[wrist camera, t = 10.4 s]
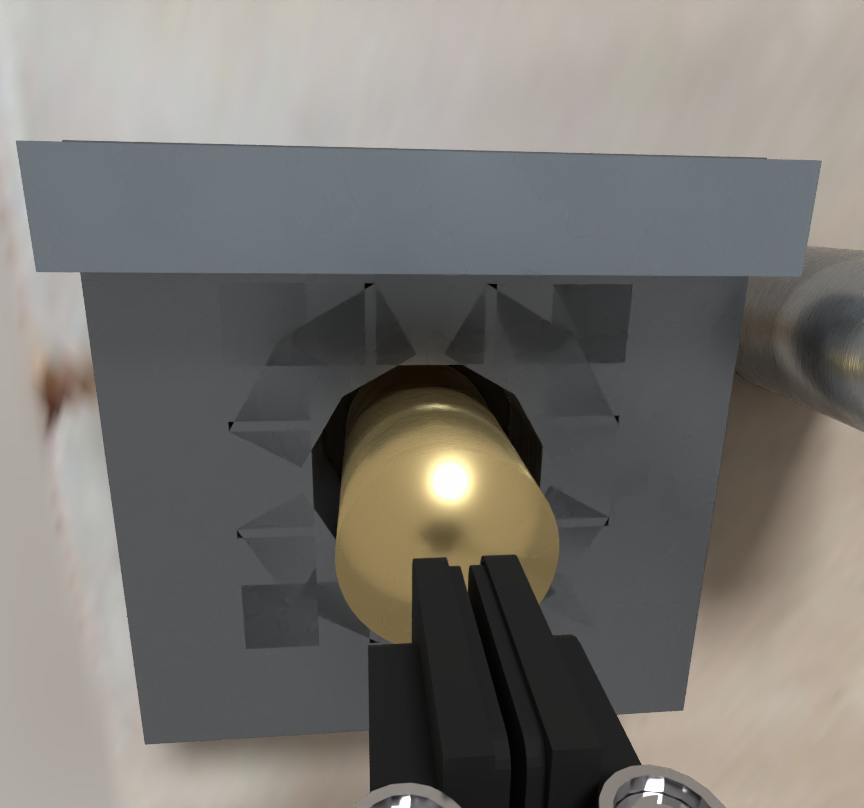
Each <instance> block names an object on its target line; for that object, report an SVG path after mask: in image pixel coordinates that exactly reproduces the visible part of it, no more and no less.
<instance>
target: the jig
mask: <svg viewBox="0 0 864 808" xmlns="http://www.w3.org/2000/svg"><path fill="white" fill-rule="evenodd" d="M16 145H17V151H18V158H19V164H20V170H21V177H22V183H23V190H24V196H25V202H26V209H27V215H28V222H29V228H30V234H31V241H32V247H33V254H34V260H35V266H36V272H80V274H81V281H82V288H83V296H84V303H85V310H86V318H87V325H88V332H89V339H90V347H91V354H92V361H93V369H94V376H95V383H96V390H97V398H98V405H99V412H100V420H101V427H102V434H103V442H104V449H105V456H106V463H107V471H108V478H109V485H110V493H111V500H112V507H113V514H114V522H115V529H116V536H117V544H118V551H119V558H120V565H121V573H122V580H123V587H124V595H125V602H126V609H127V617H128V624H129V631H130V638H131V646H132V653H133V660H134V668H135V675H136V682H137V689H138V697H139V704H140V711H141V719H142V726H143V733H144V741H145V744H159V743H175V742H191V741H207V740H223V739H238V738H254V737H270V736H286V735H302V734H317V733H333V732H349V731H365V730H369V685H368V645H382V644H394V643H392V642H390V641H388V640H386V639H384V638H382V637H380V636H379V635H377V634H376V633H374V632H373V631H372V630H370V629H369V628H368V627H367V626H366V625H365V624H363V623H362V622H361V621H360V620H359V618H358V617H357V616H356V615H355V614H354V612H353V611H352V610H351V608H350V607H349V605H348V603H347V602H346V600H345V598H344V596H343V594H342V591H341V589H340V586H339V582H338V578H337V575H336V566H335V550H336V537H337V525H338V514H339V502H340V491H341V479H340V478H339V476H338V475H337V473H336V472H335V470H334V469H333V467H332V466H331V464H330V463H329V461H328V460H327V458H326V457H325V455H324V454H323V435H322V431H323V429H324V428H325V426H326V424H327V422H328V421H329V419H330V417H331V415H332V414H333V412H334V410H335V409H336V407H337V405H338V403H339V402H340V400H341V398H342V397H343V396H345V395H347V394H348V393H350V392H352V391H354V390H355V389H357V388H359V387H361V386H362V385H364V384H366V383H368V382H369V381H371V380H373V379H375V378H376V377H378V376H380V375H382V374H383V373H385V372H387V371H389V370H390V369H392V368H394V367H396V366H397V365H464V366H466V367H467V368H469V369H471V370H473V371H475V372H476V373H478V374H480V375H482V376H483V377H485V378H487V379H489V380H490V381H492V382H494V383H496V384H497V385H499V386H501V387H502V388H503V390H504V392H505V394H506V395H507V397H508V399H509V401H510V419H509V440H510V442H511V444H512V445H513V447H514V448H515V450H516V452H517V453H518V455H519V456H520V458H521V460H522V461H523V463H524V464H525V466H526V468H527V469H528V471H529V472H530V474H531V476H532V477H533V479H534V480H535V482H536V483H537V485H538V487H539V488H540V490H541V491H542V493H543V495H544V496H545V498H546V499H547V501H548V503H549V505H550V507H551V509H552V511H553V513H554V516H555V520H556V523H557V527H558V534H559V557H558V564H557V568H556V572H555V575H554V578H553V581H552V583H551V585H550V587H549V589H548V591H547V593H546V595H545V596H544V598H543V600H542V601H541V603H540V604H539V606H540V608H541V610H542V612H543V615H544V617H545V619H546V621H547V624H548V626H549V628H550V630H551V632H552V635H569V634H572V635H574V636H576V637H577V639H578V640H579V642H580V643H581V645H582V647H583V649H584V651H585V653H586V655H587V657H588V659H589V661H590V663H591V665H592V667H593V669H594V671H595V673H596V675H597V677H598V679H599V681H600V683H601V685H602V687H603V689H604V691H605V693H606V695H607V697H608V699H609V701H610V703H611V705H612V707H613V709H614V711H615V713H616V715H618V714H634V713H649V712H665V711H681V710H683V708H684V702H685V695H686V688H687V682H688V675H689V669H690V662H691V655H692V649H693V642H694V636H695V629H696V622H697V616H698V609H699V603H700V596H701V590H702V583H703V576H704V570H705V563H706V557H707V550H708V543H709V537H710V530H711V524H712V517H713V510H714V504H715V497H716V491H717V484H718V477H719V471H720V464H721V458H722V451H723V445H724V438H725V431H726V425H727V418H728V412H729V405H730V398H731V392H732V385H733V379H734V372H735V365H736V359H737V352H738V346H739V339H740V333H741V326H742V319H743V313H744V306H745V300H746V293H747V286H748V280H749V276H802V271H803V265H804V259H805V254H806V248H807V242H808V236H809V231H810V225H811V219H812V214H813V208H814V202H815V196H816V191H817V185H818V179H819V173H820V168H821V162H822V161H817V160H777V159H767V158H754V157H714V156H674V155H634V154H594V153H554V152H514V151H474V150H435V149H395V148H355V147H315V146H275V145H235V144H195V143H155V142H115V141H75V140H62V142H52V141H16Z"/></svg>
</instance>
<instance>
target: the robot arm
mask: <svg viewBox="0 0 864 808" xmlns="http://www.w3.org/2000/svg"><path fill="white" fill-rule="evenodd" d="M368 685H369V752H370V793H369V794H368V795H366V796H365V797H364V798H362V799H361V800H359V801H358V802H357V803H356V804H355V805H354V806H353V808H726V807H725V806H724V805H723V804H722V803H721V802H720V801H719V800H718V799H717V798H716V797H715V796H714V795H713V794H712V793H711V792H710V791H709V790H708V789H707V788H706V787H704V786H703V785H701V784H700V783H698V782H697V781H695V780H694V779H692V778H691V777H689V776H687V775H684V774H682V773H680V772H677V771H675V770H672V769H670V768H665V767H660V766H654V765H641V763H640V761H639V759H638V757H637V755H636V753H635V751H634V749H633V747H632V745H631V743H630V741H629V739H628V737H627V735H626V733H625V731H624V729H623V727H622V725H621V723H620V721H619V719H618V717H617V715H616V713H615V711H614V709H613V707H612V705H611V703H610V701H609V699H608V697H607V695H606V693H605V691H604V689H603V687H602V685H601V683H600V681H599V679H598V677H597V675H596V673H595V671H594V669H593V667H592V665H591V663H590V661H589V659H588V657H587V655H586V653H585V651H584V649H583V647H582V645H581V643H580V642H579V640H578V639H577V637H576V636H574V635H572V634H569V635H552V632H551V630H550V628H549V626H548V624H547V621H546V619H545V617H544V615H543V612H542V610H541V608H540V606H539V603H538V601H537V599H536V597H535V595H534V592H533V590H532V588H531V586H530V583H529V581H528V579H527V577H526V574H525V572H524V570H523V568H522V566H521V563H520V561H519V559H518V557H517V555H515V554H512V555H487V556H482V557H481V561H480V565H470V566H469V572H468V592H467V588H466V584H465V581H464V577H463V574H462V570H461V567H460V566H449V564H448V560H447V557H437V558H413V561H412V643H401V644H382V645H368Z"/></svg>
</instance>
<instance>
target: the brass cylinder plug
mask: <svg viewBox="0 0 864 808" xmlns="http://www.w3.org/2000/svg"><path fill="white" fill-rule="evenodd" d="M512 554H515V555H517V557H518V559H519V561H520V563H521V566H522V568H523V570H524V572H525V574H526V577H527V579H528V581H529V583H530V586H531V588H532V590H533V592H534V595H535V597H536V599H537V601H538V603H539V604H540V603H541V601H542V600H543V598H544V596H545V595H546V593H547V591H548V589H549V587H550V585H551V583H552V581H553V578H554V575H555V572H556V568H557V564H558V557H559V534H558V527H557V523H556V520H555V516H554V513H553V511H552V509H551V507H550V505H549V503H548V501H547V499H546V498H545V496H544V495H543V493H542V491H541V490H540V488H539V487H538V485H537V483H536V482H535V480H534V479H533V477H532V476H531V474H530V472H529V471H528V469H527V468H526V466H525V464H524V463H523V461H522V460H521V458H520V456H519V455H518V453H517V452H516V450H515V448H514V447H513V445H512V444H511V442H510V440H509V439H508V437H507V436H506V434H505V433H504V431H503V429H502V428H501V426H500V425H499V423H498V421H497V420H496V418H495V417H494V415H493V413H492V412H491V410H490V409H489V407H488V405H487V404H486V402H485V401H484V399H483V398H482V396H481V394H480V393H479V391H478V390H477V388H476V387H475V386H474V385H473V383H472V382H471V381H470V380H469V379H468V378H467V377H465V376H464V375H463V374H462V373H460V372H459V371H457V370H456V369H454V368H452V367H450V366H447V365H397V366H396V367H394V368H392V369H390V370H389V371H387V372H385V373H383V374H382V375H380V376H378V377H376V378H375V379H373V380H371V381H369V382H368V383H366V384H364V385H363V386H362V387H361V388H360V390H359V391H358V393H357V394H356V396H355V397H354V399H353V401H352V404H351V406H350V409H349V412H348V416H347V422H346V433H345V444H344V456H343V468H342V479H341V491H340V502H339V514H338V525H337V537H336V550H335V566H336V575H337V578H338V582H339V586H340V589H341V591H342V594H343V596H344V598H345V600H346V602H347V603H348V605H349V607H350V608H351V610H352V611H353V612H354V614H355V615H356V616H357V617H358V618H359V620H360V621H361V622H362V623H363V624H365V625H366V626H367V627H368V628H369V629H370V630H372V631H373V632H374V633H376V634H377V635H379V636H380V637H382V638H384V639H386V640H388V641H390V642H392V643H394V644H401V643H412V561H413V558H437V557H447V560H448V564H449V566H460V567H461V570H462V574H463V577H464V581H465V584H466V588H467V592H468V572H469V566H470V565H480V561H481V557H482V556H487V555H512Z"/></svg>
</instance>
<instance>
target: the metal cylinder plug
mask: <svg viewBox="0 0 864 808" xmlns="http://www.w3.org/2000/svg"><path fill="white" fill-rule="evenodd" d="M735 371H736V372H737V373H738V374H739V375H740V376H742V377H743V378H744V379H746V380H748V381H750V382H752V383H754V384H756V385H759V386H761V387H763V388H765V389H768V390H770V391H772V392H774V393H777V394H779V395H781V396H783V397H786V398H788V399H790V400H792V401H795V402H797V403H799V404H801V405H804V406H806V407H808V408H811V409H813V410H815V411H817V412H820V413H822V414H824V415H826V416H829V417H831V418H833V419H835V420H838V421H840V422H842V423H844V424H847V425H849V426H851V427H854V428H856V429H858V430H860V431H863V432H864V251H862V250H849V249H837V248H824V247H812V246H807V248H806V254H805V259H804V265H803V271H802V276H749V280H748V286H747V293H746V300H745V306H744V313H743V319H742V326H741V333H740V339H739V346H738V352H737V359H736V365H735Z"/></svg>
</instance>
